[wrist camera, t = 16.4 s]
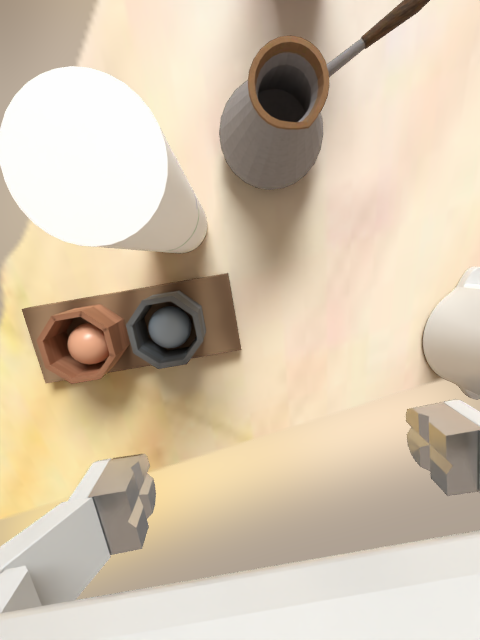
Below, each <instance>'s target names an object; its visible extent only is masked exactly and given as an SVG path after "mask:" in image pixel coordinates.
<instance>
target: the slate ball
mask: <svg viewBox="0 0 480 640" xmlns="http://www.w3.org/2000/svg"><path fill="white" fill-rule="evenodd" d="M148 329H149V334H150V336H151V338H152V340H153V341H154V342H155V343H156V344H158V345H159V346H162V347H165V348H175V347H178V346H180V345H182V344H183V343H184V342H185V341H186V340H187V339H188V338H189V336H190V333H191V321H190V319H189V317H188V315H187V314H186V313H185V312H184V311H183V310H181V309H180V308H177V307H173V306H167V307H163V308H160V309H159V310H157V311H156V312H155V313H154V314H153V315H152V317H151V318H150V321H149V326H148Z"/></svg>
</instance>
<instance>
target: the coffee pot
mask: <svg viewBox="0 0 480 640" xmlns="http://www.w3.org/2000/svg"><path fill="white" fill-rule="evenodd" d="M429 1H430V0H404V1H402V2H401V3H400V4H399V5H398V6H397V7H395V8H394V9H393V10H392V11H391V12H390V13H389V14H387V15H386V16H385V17H384V18H383V19H382V20H381V21H379V22H378V23H377V24H376V25H375V26H374V27H372V28H371V29H370V30H369V31H368V32H367V33H366V34H364V35H363V36H362V37H361V39H360V40H358V41H357V42H356V43H354V44H353V45H352V46H350V47H349V48H348V49H347V50H345V51H344V52H343V53H341V54H340V55H339V56H337V57H336V58H335V59H333V60H332V61H331V62H329V63H328V64H327V65H326V62H325V60H324V58H323V56H322V54H321V53H320V51H319V50H318V49H317V48H316V47H315V46H314V45H313V44H312V43H311V42H309V41H307V40H305V39H303V38H301V37H296V36H291V35H290V36H282V37H278V38H276V39H274V40H272V41H270V42H268V43H267V44H266V45H265V46H264V47H263V48H261V49H260V51H259V52H258V54H257V55H256V57H255V58H254V59H253V62H252V65H251V67H250V70H249V76H248V80H247V81H246V82H244V83H243V84H242V85H241V86H240V87H238V88H237V89H236V90H235V91H234V93H233V94H232V96H231V97H230V98H229V100H228V101H227V103H226V105H225V108H224V111H223V114H222V116H221V122H220V130H219V135H220V143H221V149H222V152H223V154H224V157H225V159H226V162H227V163H228V165H229V166H230V168H231V169H232V170H233V172H234V173H235V174H236V175H237V176H238V177H239V178H241V179H242V180H243V181H244V182H246V183H248V184H250V185H252V186H254V187H256V188H262V189H268V190H271V189H279V188H284V187H287V186H289V185H291V184H294V183H296V182H297V181H298V180H300V179H301V178H302V177H303V176H305V175H306V174H307V172H308V171H309V170H310V168H311V167H312V166H313V165H314V163H315V161H316V159H317V156H318V154H319V152H320V149H321V144H322V138H323V123H322V117H321V113H320V112H321V110H322V108H323V106H324V104H325V101H326V99H327V96H328V90H329V77H330V76H331V75H332V74H334V73H335V72H336V71H337V70H339V69H340V68H341V67H342V66H344V65H345V64H346V63H347V62H349V61H350V60H351V59H352V58H353V57H355V56H356V55H357V54H358V53H360V52H361V51H362V50H363V49H366V48H368V47H369V46H370V45H372V44H373V43H375V42H376V41H378V40H379V39H380V38H382V37H383V36H385V35H386V34H388V33H389V32H390V31H392V30H393V29H395V28H396V27H398V26H399V25H400V24H402V23H403V22H405V21H406V20H407V19H409V18H410V17H412V16H413V15H415V14H416V13H417V12H419V11H420V10H421V9H422V8H423V7H424V6H425V5H426V4H427V3H428V2H429Z"/></svg>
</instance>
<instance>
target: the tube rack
mask: <svg viewBox="0 0 480 640" xmlns="http://www.w3.org/2000/svg"><path fill="white" fill-rule="evenodd" d="M167 306H173V307H177V308H180V309H181V310H183V311H184V312H185V313H186V314H187V315H188V317H189V319H190V321H191V333H190V336H189V338H188V339H187V340H186V341H185V342H184V343H183V344H182V345H180V346H178V347H175V348H165V347H162V346H159V345H158V344H156V343H155V342H154V341H153V340H152V338H151V336H150V334H149V329H148V326H149V321H150V318H151V317H152V315H153V314H154V313H155V312H156V311H157V310H159V309H160V308H163V307H167ZM22 312H23V315H24V318H25V321H26V324H27V327H28V330H29V333H30V336H31V340H32V343H33V346H34V349H35V352H36V355H37V358H38V361H39V364H40V367H41V370H42V373H43V376H44V380H45V383H51V382H56V381H62V380H66V381H68V382H70V383H71V384H74V383H80V382H85V381H91V380H97V379H101V378H102V377H103V376H104V375H105V374H106V373H109V372H115V371H120V370H126V369H132V368H138V367H144V366H150V365H153V366H154V367H156V368H157V369H161V368H167V367H173V366H178V365H184V364H187V363H188V362H189V360H190V359H191V358H196V357H202V356H208V355H214V354H219V353H225V352H231V351H237V350H241V345H240V339H239V334H238V328H237V322H236V316H235V311H234V305H233V299H232V293H231V288H230V282H229V276H228V273H227V274H221V275H215V276H209V277H203V278H197V279H192V280H186V281H180V282H174V283H168V284H162V285H156V286H151V287H145V288H139V289H133V290H127V291H121V292H116V293H110V294H104V295H98V296H92V297H86V298H81V299H75V300H69V301H63V302H57V303H51V304H46V305H40V306H34V307H29V308H25V309H22ZM84 323H91V324H93V325H95V326H96V327H98V328H99V329H101V330H102V331H103V332H104V335H105V339H106V343H107V347H108V350H109V354H110V355H109V357H108V358H106V359H105V360H104V361H102V362H100V363H97V364H84V363H81V362H78V361H77V360H75V359H74V358H73V357H72V356H71V354H70V352H69V350H68V338H69V336H70V334H71V332H72V331H73V330H74V329H75V328H76V327H78V326H79V325H82V324H84Z"/></svg>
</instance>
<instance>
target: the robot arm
mask: <svg viewBox="0 0 480 640" xmlns="http://www.w3.org/2000/svg"><path fill="white" fill-rule="evenodd" d="M423 349H424V354H425V357H426V360H427V362H428V364H429V365H430V367H431V368H432V369H433V371H434V372H435V373H436V374H438V375H439V376H440V377H442V378H443V379H445V380H448V381H450V382H452V383H454V384H456V385H458V386H459V388H460V389H461V390H462V392H463V393H464V394H465V395H467V396H468V397H470V398H473V399H476V400H478V399H480V267H476V266H475V267H470V268H469V269H467V270H466V271H465V273H464V274H463V276H462V277H461V279H460V281H459V282H458V284H457V286H456V287H455V289H454V290H453V291H452V292H450V293H449V294H448V295H447V296H446V297H445V298H443V299H442V300H441V301H440V302H439V303H438V305H437V306H436V307H435V308H434V310H433V311H432V313H431V315H430V317H429V318H428V321H427V323H426V326H425V330H424V335H423ZM406 422H407V423H408V424H409V425H410V426H411V429H410V430H409V432H408V434H407V442H408V447H409V450H410V452H411V455H412V456H413V458H414V459H415V461H416V462H417V463H418V464H419V466H420V467H422V468H424V469H427V470H429V471H430V472H431V479H432V480H433V481H434V482H435V483H436V484H437V485H438V486H439V487H440V488H441V489H442V490H443V492H444V493H445V494H446V495H447V496H450V495H457V494H463V493H471V492H478V491H480V411H478V410H476V409H475V408H473V407H471V406H470V405H468V404H466V403H465V402H463V401H461V400H457V399H454V400H449V401H444V402H440V403H435V404H431V405H425V406H420V407H415V408H411V409H407V412H406ZM149 466H150V465H149V461H148V458H147V456H146V455H145V454H138V455H132V456H125V457H118V458H113V459H105V460H100V461H96V462H94V463H93V464H92V465H91V467H90V468H89V470H88V471H87V473H86V474H85V476H84V477H83V479H82V480H81V482H80V483H79V485H78V486H77V488H76V489H75V491H74V492H73V494H72V495H71V497H70V498H69V500H68V501H67V502H62V503H60V504H59V505H58V506H56V507H55V508H53V509H52V510H51V511H49V512H48V513H47V514H45V515H44V516H42V517H41V518H40V519H38V520H37V521H35V522H34V523H33V524H31V525H30V526H29V527H27V528H26V529H24V530H23V531H22V532H20V533H19V534H18V535H16V536H15V537H13V538H12V539H11V540H10V541H8V542H6V543H5V544H4V545H2V546H1V547H0V640H480V530H479V531H474V532H467V533H462V534H456V535H451V536H445V537H439V538H433V539H427V540H422V541H416V542H410V543H404V544H399V545H393V546H387V547H381V548H376V549H370V550H364V551H358V552H352V553H347V554H341V555H334V556H329V557H323V558H317V559H312V560H305V561H299V562H293V563H288V564H282V565H276V566H270V567H264V568H259V569H253V570H247V571H241V572H236V573H230V574H225V575H218V576H213V577H207V578H201V579H195V580H190V581H184V582H179V583H172V584H167V585H161V586H155V587H150V588H144V589H138V590H132V591H126V592H121V593H115V594H109V595H103V596H97V597H91V598H86V599H79V600H76V598H77V597H78V596H79V595H80V594H81V592H82V591H83V590H84V589H85V587H86V586H87V585H88V584H89V583H90V581H91V580H92V579H93V578H94V577H95V575H96V574H97V573H98V572H99V570H100V569H101V568H102V567H103V566H104V564H105V563H106V562H107V561H108V559H109V558H110V555H112V554H118V553H123V552H127V551H133V550H137V549H142V546H143V543H144V540H145V537H146V533H147V530H148V522H147V518H148V517H149V516H150V515H151V514H152V513H153V510H154V506H155V497H156V492H155V484H154V480H153V478H152V477H151V476H150V475H149V474H147V472H148V469H149Z"/></svg>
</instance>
